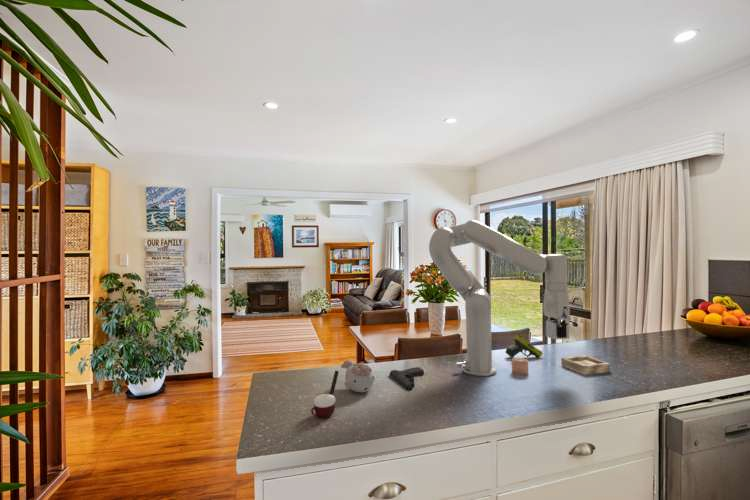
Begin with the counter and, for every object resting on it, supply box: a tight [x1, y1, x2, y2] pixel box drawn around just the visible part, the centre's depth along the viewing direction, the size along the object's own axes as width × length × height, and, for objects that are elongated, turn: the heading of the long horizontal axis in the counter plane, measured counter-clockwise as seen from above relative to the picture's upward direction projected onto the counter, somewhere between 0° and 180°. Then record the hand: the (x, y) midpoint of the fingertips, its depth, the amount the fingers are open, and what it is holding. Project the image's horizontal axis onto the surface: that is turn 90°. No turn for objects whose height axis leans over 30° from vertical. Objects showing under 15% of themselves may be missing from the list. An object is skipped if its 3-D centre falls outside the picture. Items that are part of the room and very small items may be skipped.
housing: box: [545, 319, 570, 340], centre depth 145 cm, size 6×5×7 cm
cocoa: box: [310, 370, 340, 419], centre depth 115 cm, size 10×6×12 cm, turn 110°
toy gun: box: [505, 334, 543, 359], centre depth 171 cm, size 2×14×10 cm
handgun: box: [388, 366, 425, 391], centre depth 144 cm, size 2×18×13 cm
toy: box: [340, 359, 375, 393], centre depth 137 cm, size 10×15×10 cm, turn 27°
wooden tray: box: [560, 355, 611, 376], centre depth 154 cm, size 12×12×3 cm
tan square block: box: [511, 357, 529, 376], centre depth 150 cm, size 6×6×5 cm
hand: (557, 335), depth 145 cm, fingers closed on housing, 5 cm apart
